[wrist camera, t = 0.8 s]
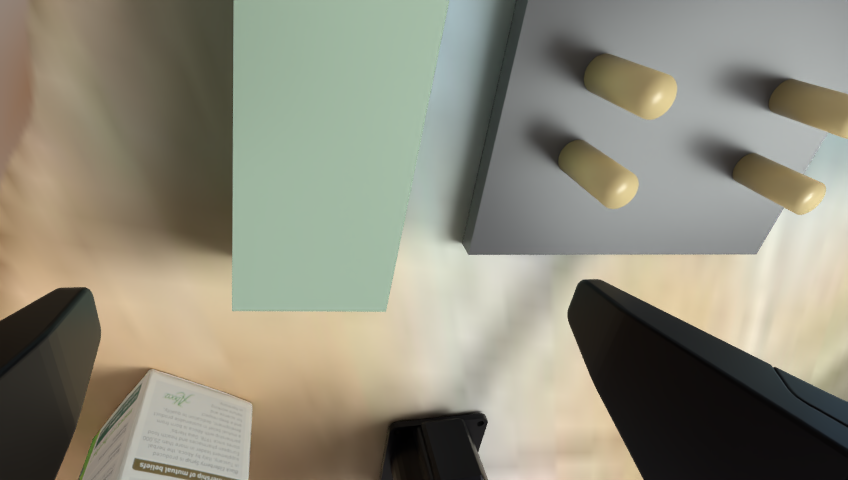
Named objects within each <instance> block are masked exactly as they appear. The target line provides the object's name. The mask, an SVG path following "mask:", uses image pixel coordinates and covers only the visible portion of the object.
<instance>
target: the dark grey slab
mask: <svg viewBox="0 0 848 480" xmlns="http://www.w3.org/2000/svg"><path fill="white" fill-rule="evenodd" d="M828 132H829V133H831V134H834V135H837V136H840V137H843V138H846V139H848V0H517V1H516V6H515V10H514V14H513V19H512V23H511V28H510V32H509V37H508V41H507V46H506V50H505V55H504V59H503V64H502V68H501V73H500V77H499V82H498V86H497V90H496V95H495V99H494V104H493V108H492V113H491V117H490V122H489V126H488V131H487V135H486V140H485V144H484V149H483V153H482V158H481V162H480V166H479V171H478V175H477V180H476V184H475V189H474V193H473V198H472V202H471V207H470V211H469V216H468V220H467V225H466V229H465V233H464V238H463V242H462V244H463V246H464V248H465V249H466V251H467V253H468V255H573V254H757V252H758V251H759V249H760V247H761V246H762V244H763V242H764V240H765V239H766V237H767V235H768V234H769V232H770V230H771V229H772V227H773V225H774V224H775V222H776V220H777V218H778V217H779V215H780V213H781V212H782V210H783V208H786V209H788V210H790V211H792V212H794V213H795V214H798V215H802V214H806V213H808V212H810V211H812V210H813V209H814V208H815V207H816V206H818V204H819V203H820V202H821V201H822V199H823V197H824V195H825V192H826V187H825V185H824V184H823V183H821V182H819V181H816V180H814V179H812V178H810V177H808V176H805V175H804V173H805V171H806V169H807V168H808V166H809V164H810V163H811V161H812V159H813V158H814V156H815V154H816V153H817V151H818V149H819V147H820V146H821V144H822V142H823V141H824V139H825V137H826V136H827V134H828Z"/></svg>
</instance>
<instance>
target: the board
mask: <svg viewBox="0 0 848 480" xmlns="http://www.w3.org/2000/svg"><path fill="white" fill-rule="evenodd" d="M448 4H449V0H234V26H233V232H232V311H357V312H386V309H387V304H388V299H389V294H390V289H391V284H392V279H393V274H394V269H395V264H396V260H397V255H398V250H399V245H400V240H401V235H402V230H403V225H404V220H405V215H406V210H407V205H408V201H409V196H410V191H411V186H412V181H413V176H414V171H415V166H416V161H417V156H418V151H419V147H420V142H421V137H422V132H423V127H424V122H425V117H426V112H427V107H428V102H429V97H430V93H431V88H432V83H433V78H434V73H435V68H436V63H437V58H438V53H439V48H440V43H441V39H442V34H443V29H444V24H445V19H446V14H447V9H448Z"/></svg>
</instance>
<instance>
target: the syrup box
mask: <svg viewBox="0 0 848 480" xmlns="http://www.w3.org/2000/svg"><path fill="white" fill-rule="evenodd" d="M251 428H252V404H251V403H250V402H248V401H246V400H243V399H240V398H238V397H235V396H233V395H230V394H228V393H225V392H222V391H219V390H216V389H213V388H210V387H207V386H204V385H201V384H198V383H195V382H192V381H189V380H186V379H182V378H179V377H176V376H173V375H170V374H167V373H164V372H160V371H157V370H155V369H150V370H149V371H148V372H147V373H146V375H145V376H144V377H143V378H142V380H141V381H140V382H139V383H138V384H137V385H136V387H135V388H134V389H133V390H132V391H131V392H130V393H129V394H128V396H127V397H126V398H125V399H124V400H123V402H122V403H121V404H120V405H119V407H118V408H117V409H116V410H115V412H114V413H113V414H112V415H111V417H110V418H109V419H108V421H107V422H106V423H105V424H104V426H103V427H102V428H101V430H100V431H99V432H98V433H97V435H96V436H95V437H94V438H93V441H92V443H91V446H90V449H89V452H88V455H87V457H86V460H85V463H84V465H83V468H82V471H81V474H80V476H79V479H78V480H248V479H249V464H250V446H251Z"/></svg>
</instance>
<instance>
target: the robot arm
mask: <svg viewBox="0 0 848 480" xmlns="http://www.w3.org/2000/svg"><path fill="white" fill-rule="evenodd" d="M568 321H569V324H570V327H571V329H572V332H573V334H574V337H575V339H576V342H577V344H578V347H579V349H580V352H581V354H582V357H583V359H584V362H585V364H586V367H587V369H588V371H589V374H590V376H591V378H592V381H593V383H594V385H595V387H596V389H597V391H598V393H599V395H600V397H601V399H602V401H603V403H604V405H605V407H606V409H607V410H608V412H609V414H610V416H611V418H612V420H613V422H614V424H615V426H616V428H617V430H618V432H619V433H620V435H621V437H622V439H623V441H624V443H625V445H626V447H627V449H628V451H629V453H630V454H631V456H632V458H633V460H634V462H635V464H636V466H637V468H638V470H639V472H640V474H641V476H642V477H643V479H644V480H848V402H847V401H845V400H842V399H840V398H838V397H836V396H834V395H832V394H829V393H827V392H825V391H823V390H821V389H819V388H817V387H815V386H813V385H811V384H809V383H807V382H805V381H803V380H801V379H799V378H797V377H795V376H793V375H791V374H789V373H787V372H785V371H782V370H780V369H778V368H776V367H774V368H773V367H772V366H771V365H770V364H768V363H766V362H764V361H762V360H760V359H758V358H756V357H754V356H752V355H750V354H748V353H746V352H744V351H742V350H740V349H738V348H736V347H734V346H732V345H730V344H728V343H726V342H724V341H722V340H720V339H718V338H716V337H714V336H712V335H710V334H708V333H706V332H704V331H702V330H700V329H698V328H696V327H694V326H692V325H690V324H688V323H686V322H684V321H682V320H680V319H678V318H676V317H674V316H672V315H670V314H668V313H666V312H664V311H662V310H660V309H658V308H656V307H654V306H652V305H650V304H648V303H646V302H644V301H642V300H640V299H638V298H636V297H634V296H632V295H630V294H628V293H626V292H624V291H622V290H620V289H618V288H616V287H614V286H612V285H610V284H608V283H606V282H604V281H602V280H598V279H588V280H582V281H580V282H579V283H578V285H577V287H576V290H575V293H574V295H573V298H572V300H571V303H570V306H569V308H568ZM100 338H101V327H100V322H99V318H98V314H97V310H96V306H95V301H94V297H93V294H92V292H91V291H90V290H89V289H88V288H85V287H74V288H58V289H56V290H54V291H52V292H50V293H48V294H47V295H45V296H43V297H41V298H40V299H38V300H36V301H34V302H33V303H31V304H29V305H27V306H26V307H24V308H22V309H20V310H19V311H17V312H15V313H13V314H12V315H10V316H8V317H6V318H5V319H3V320H1V321H0V480H55V478H56V476H57V473H58V471H59V469H60V466H61V464H62V461H63V459H64V456H65V454H66V452H67V449H68V447H69V444H70V442H71V439H72V437H73V434H74V431H75V429H76V426H77V423H78V419H79V416H80V413H81V409H82V405H83V402H84V398H85V394H86V391H87V387H88V383H89V380H90V376H91V373H92V369H93V365H94V362H95V358H96V354H97V351H98V347H99V343H100ZM487 423H488V421H487V418H486V416H485V414H482V413H479V414H469V415H459V416H449V417H440V418H430V419H420V420H410V421H400V422H394V423H392V424H391V425H390V426H389V427H388V432H387V437H386V443H385V449H384V455H383V461H382V466H381V472H380V478H379V480H488V479H487V476H486V473H485V470H484V468H483V465H482V462H481V460H480V457H479V454H478V451H479V448H480V444H481V441H482V438H483V435H484V432H485V429H486V426H487Z"/></svg>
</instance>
